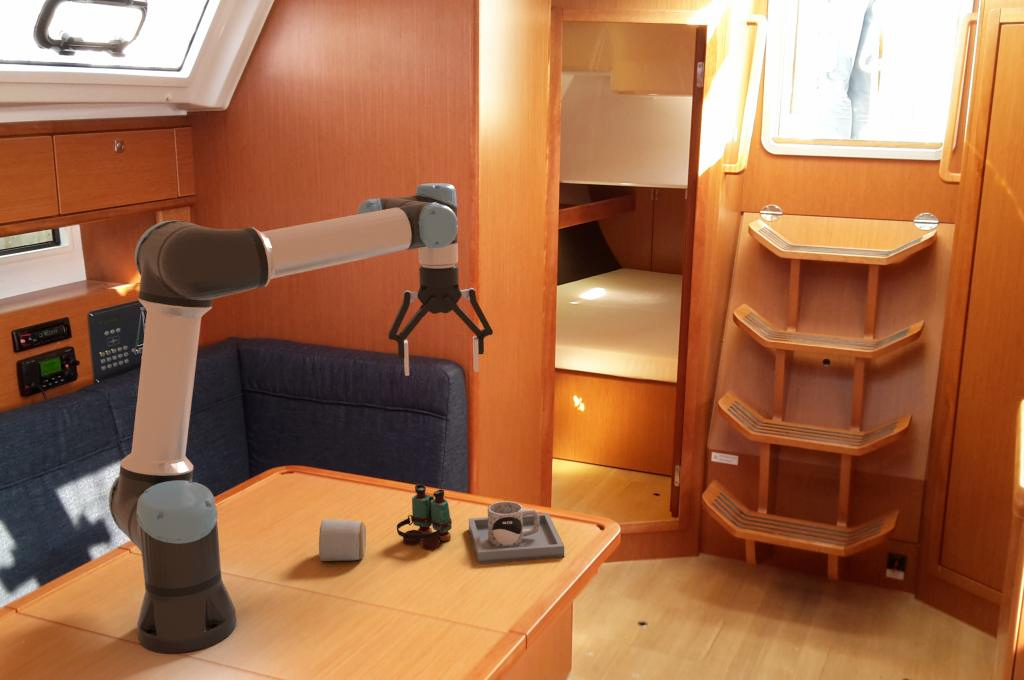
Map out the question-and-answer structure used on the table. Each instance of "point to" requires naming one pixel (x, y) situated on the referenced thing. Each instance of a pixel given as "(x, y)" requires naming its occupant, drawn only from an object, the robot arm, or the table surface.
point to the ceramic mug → (342, 540)
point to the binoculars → (427, 519)
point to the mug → (509, 524)
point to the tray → (532, 547)
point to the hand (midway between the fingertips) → (441, 372)
